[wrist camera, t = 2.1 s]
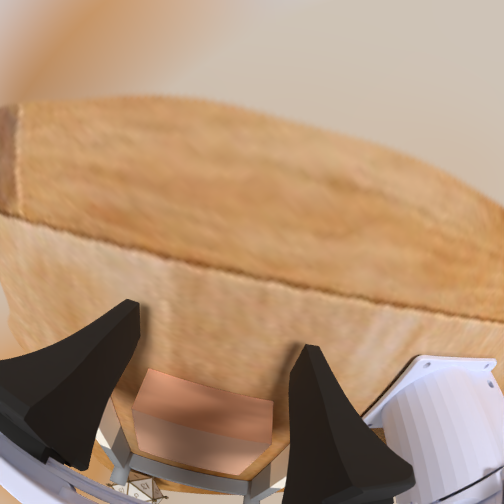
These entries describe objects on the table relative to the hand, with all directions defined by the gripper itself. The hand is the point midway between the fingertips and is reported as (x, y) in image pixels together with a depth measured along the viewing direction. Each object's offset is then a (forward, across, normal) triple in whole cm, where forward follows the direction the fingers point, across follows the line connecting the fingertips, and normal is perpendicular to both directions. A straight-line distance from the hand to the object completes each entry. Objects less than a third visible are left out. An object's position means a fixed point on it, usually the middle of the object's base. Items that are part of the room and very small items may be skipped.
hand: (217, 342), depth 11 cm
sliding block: (+2, 0, +10) cm, 10 cm away
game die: (+2, +7, +38) cm, 39 cm away
